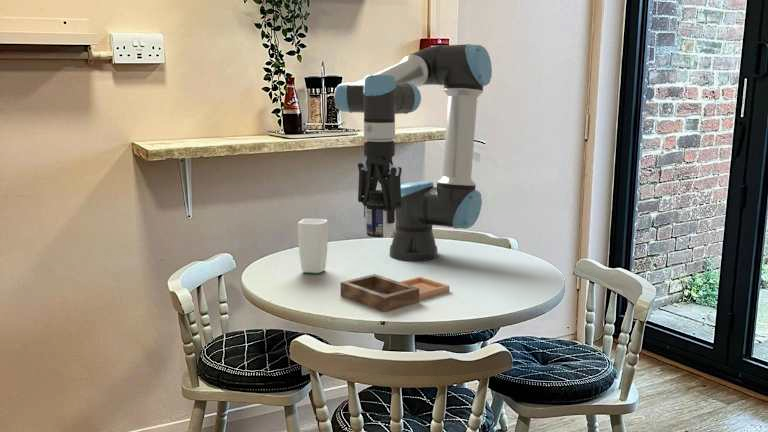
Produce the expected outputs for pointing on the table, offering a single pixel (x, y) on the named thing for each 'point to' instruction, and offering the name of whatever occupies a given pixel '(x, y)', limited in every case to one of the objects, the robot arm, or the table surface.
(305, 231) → the cup
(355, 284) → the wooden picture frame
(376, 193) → the pill bottle
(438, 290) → the tray
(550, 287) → the table surface
